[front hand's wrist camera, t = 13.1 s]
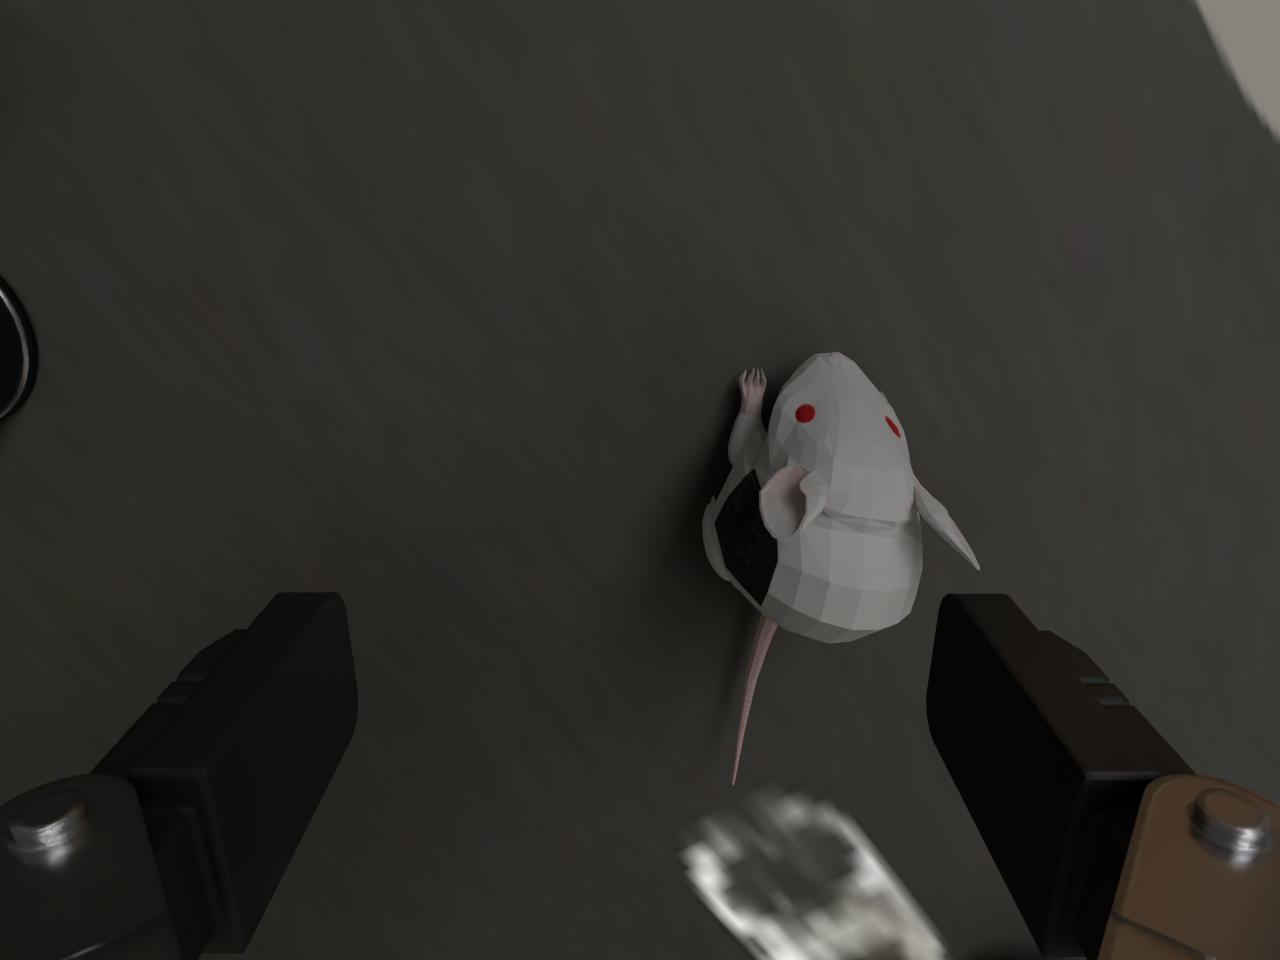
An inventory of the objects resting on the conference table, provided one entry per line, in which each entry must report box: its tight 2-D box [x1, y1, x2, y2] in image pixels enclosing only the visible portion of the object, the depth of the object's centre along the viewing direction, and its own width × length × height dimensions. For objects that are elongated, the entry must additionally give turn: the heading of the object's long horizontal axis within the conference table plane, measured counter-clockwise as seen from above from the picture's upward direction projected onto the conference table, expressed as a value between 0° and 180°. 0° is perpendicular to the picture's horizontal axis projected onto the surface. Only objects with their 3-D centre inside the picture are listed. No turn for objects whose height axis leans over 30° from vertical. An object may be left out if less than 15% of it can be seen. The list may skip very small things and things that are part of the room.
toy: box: [702, 352, 980, 785], centre depth 37 cm, size 9×24×15 cm, turn 171°
